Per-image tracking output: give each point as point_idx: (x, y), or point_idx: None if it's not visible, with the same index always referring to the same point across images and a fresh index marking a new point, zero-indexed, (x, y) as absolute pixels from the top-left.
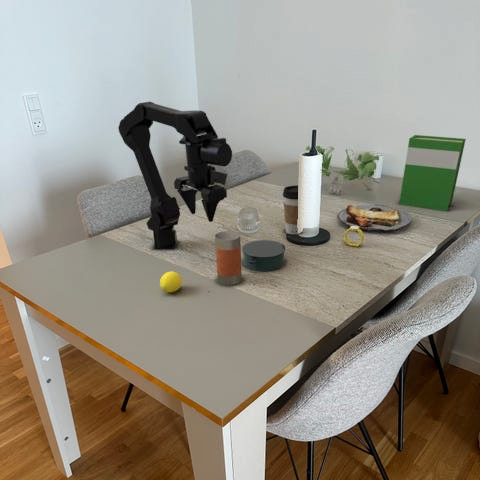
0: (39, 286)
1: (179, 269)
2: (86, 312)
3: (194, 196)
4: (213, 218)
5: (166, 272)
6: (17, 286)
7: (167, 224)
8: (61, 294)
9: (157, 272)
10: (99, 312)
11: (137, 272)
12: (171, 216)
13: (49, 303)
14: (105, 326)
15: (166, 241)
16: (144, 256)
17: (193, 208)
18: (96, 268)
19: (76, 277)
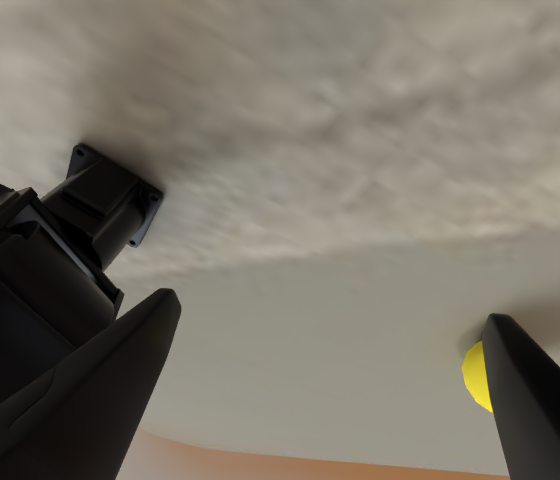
0: (247, 438)
1: (365, 263)
2: (411, 449)
3: (36, 449)
4: (530, 337)
5: (485, 403)
6: (228, 448)
7: (91, 280)
8: (304, 438)
9: (334, 314)
10: (432, 443)
11: (296, 341)
12: (68, 304)
13: (326, 454)
14: (497, 458)
15: (133, 226)
16: (190, 286)
17: (152, 341)
18: (215, 375)
19: (242, 406)
